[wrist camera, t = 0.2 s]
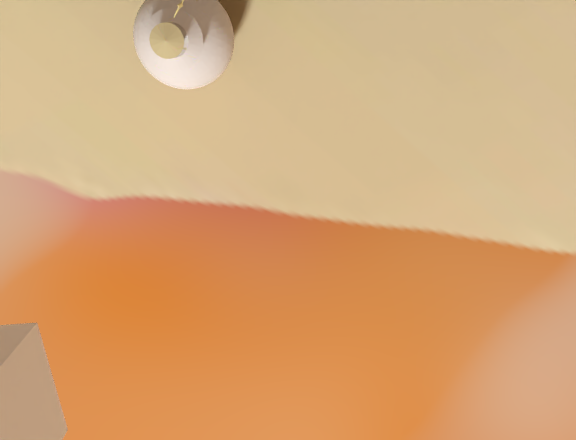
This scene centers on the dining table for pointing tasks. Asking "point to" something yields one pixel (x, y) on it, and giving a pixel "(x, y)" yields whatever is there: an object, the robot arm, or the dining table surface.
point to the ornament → (184, 41)
